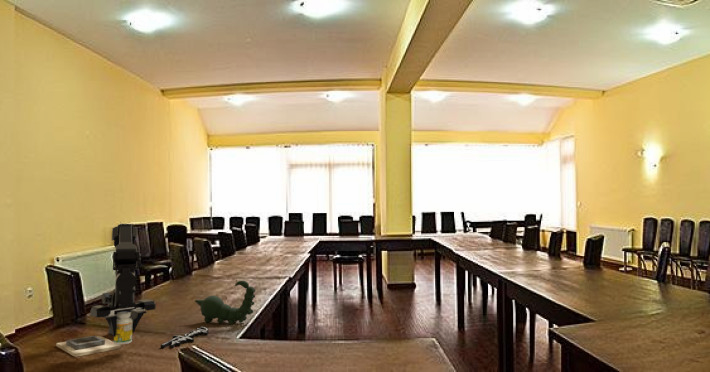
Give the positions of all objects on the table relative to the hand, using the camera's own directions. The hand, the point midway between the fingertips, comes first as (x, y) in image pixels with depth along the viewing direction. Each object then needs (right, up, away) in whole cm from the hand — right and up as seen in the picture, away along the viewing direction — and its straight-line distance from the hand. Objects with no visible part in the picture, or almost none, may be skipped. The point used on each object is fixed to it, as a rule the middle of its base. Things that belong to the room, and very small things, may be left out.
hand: (123, 334), depth 158 cm
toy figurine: (+21, -9, +44) cm, 49 cm away
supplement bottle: (0, -3, 0) cm, 3 cm away
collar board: (-15, -6, +6) cm, 17 cm away
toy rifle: (+14, -8, +19) cm, 25 cm away
